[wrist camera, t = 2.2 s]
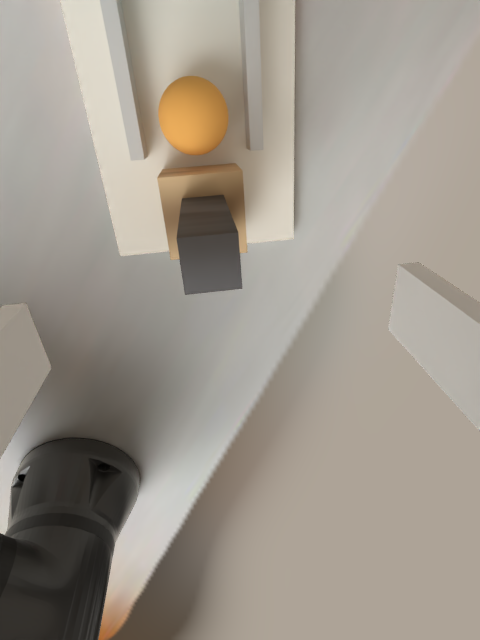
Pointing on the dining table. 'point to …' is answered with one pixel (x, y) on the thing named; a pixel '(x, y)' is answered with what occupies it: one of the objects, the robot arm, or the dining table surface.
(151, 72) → the board
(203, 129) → the ball
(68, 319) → the dining table surface
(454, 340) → the robot arm
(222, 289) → the block
